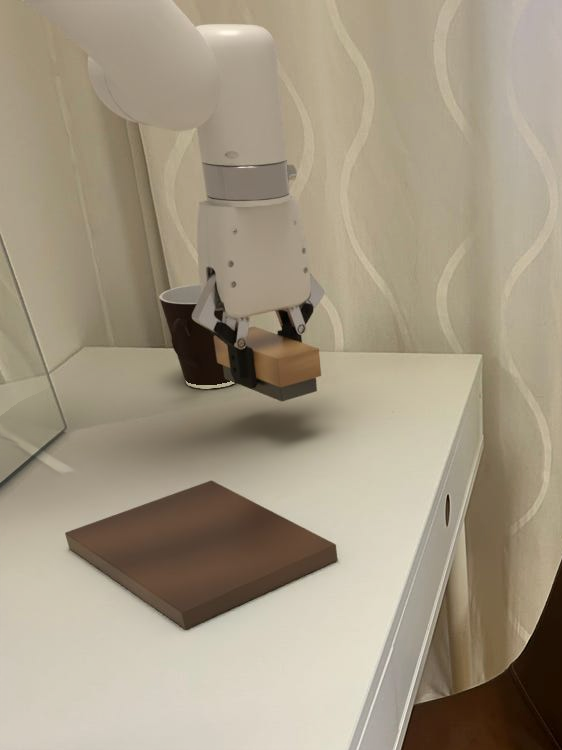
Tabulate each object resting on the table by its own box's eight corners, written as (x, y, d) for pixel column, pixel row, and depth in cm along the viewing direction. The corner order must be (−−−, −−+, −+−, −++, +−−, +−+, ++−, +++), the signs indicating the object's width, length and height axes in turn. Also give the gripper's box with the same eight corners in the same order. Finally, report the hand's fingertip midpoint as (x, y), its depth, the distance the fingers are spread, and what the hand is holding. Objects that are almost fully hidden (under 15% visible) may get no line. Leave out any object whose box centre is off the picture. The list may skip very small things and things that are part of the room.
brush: (219, 378, 101) (213, 335, 98) (259, 367, 104) (254, 326, 101) (282, 403, 94) (277, 359, 92) (322, 392, 97) (319, 348, 95)
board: (68, 548, 80) (64, 532, 79) (214, 494, 89) (211, 479, 88) (185, 630, 70) (181, 612, 69) (338, 560, 78) (336, 544, 77)
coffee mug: (216, 364, 120) (202, 280, 114) (265, 377, 116) (253, 290, 110) (139, 391, 112) (120, 302, 106) (189, 406, 108) (172, 314, 102)
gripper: (297, 170, 96) (313, 353, 106) (141, 188, 86) (175, 389, 96) (345, 178, 92) (357, 368, 102) (187, 198, 82) (218, 408, 91)
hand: (269, 376), depth 99 cm, fingers closed on brush, 5 cm apart
